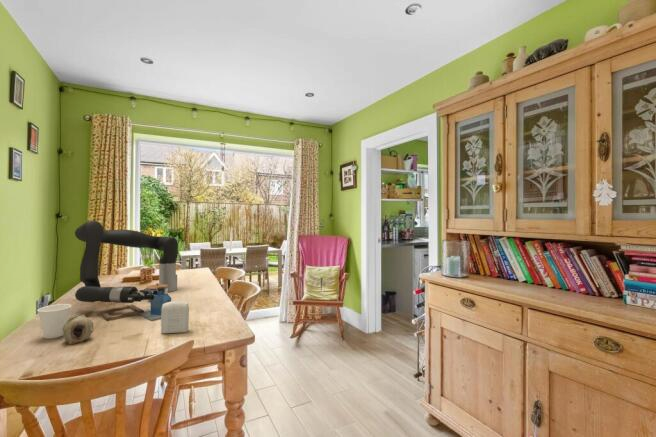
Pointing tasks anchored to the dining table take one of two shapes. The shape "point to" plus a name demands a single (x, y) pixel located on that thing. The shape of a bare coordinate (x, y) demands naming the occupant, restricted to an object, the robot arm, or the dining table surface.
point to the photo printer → (174, 317)
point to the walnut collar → (107, 317)
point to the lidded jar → (157, 287)
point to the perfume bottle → (159, 301)
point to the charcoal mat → (150, 316)
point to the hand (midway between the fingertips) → (158, 294)
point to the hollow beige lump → (77, 329)
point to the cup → (53, 319)
